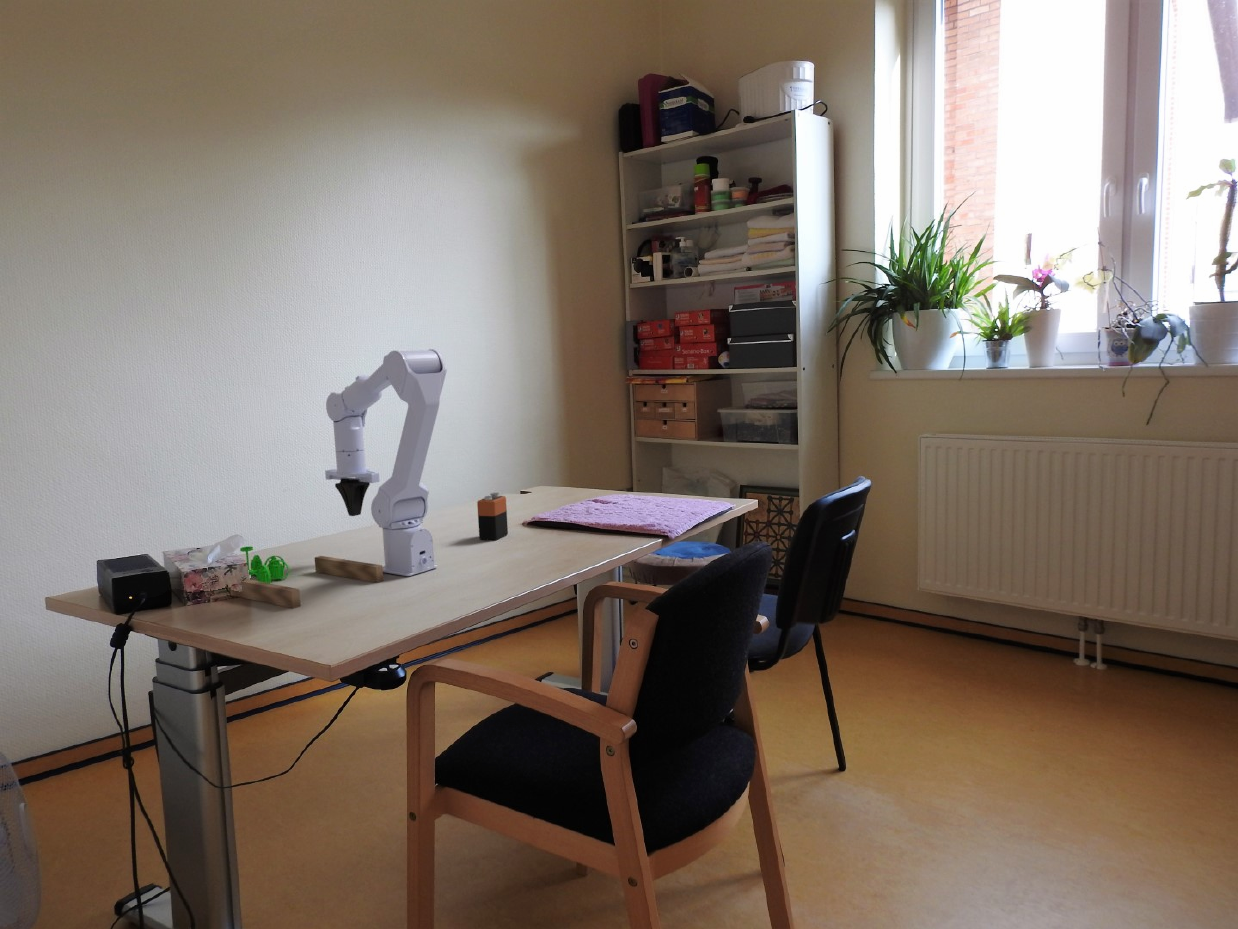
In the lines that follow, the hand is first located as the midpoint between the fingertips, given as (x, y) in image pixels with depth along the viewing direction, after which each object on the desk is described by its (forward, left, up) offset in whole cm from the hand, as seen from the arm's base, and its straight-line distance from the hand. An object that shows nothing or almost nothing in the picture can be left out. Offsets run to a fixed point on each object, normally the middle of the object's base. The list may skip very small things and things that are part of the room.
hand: (354, 515), depth 188 cm
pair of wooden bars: (-10, +20, -9) cm, 24 cm away
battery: (-12, -29, -10) cm, 33 cm away
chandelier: (+5, +22, -10) cm, 25 cm away
